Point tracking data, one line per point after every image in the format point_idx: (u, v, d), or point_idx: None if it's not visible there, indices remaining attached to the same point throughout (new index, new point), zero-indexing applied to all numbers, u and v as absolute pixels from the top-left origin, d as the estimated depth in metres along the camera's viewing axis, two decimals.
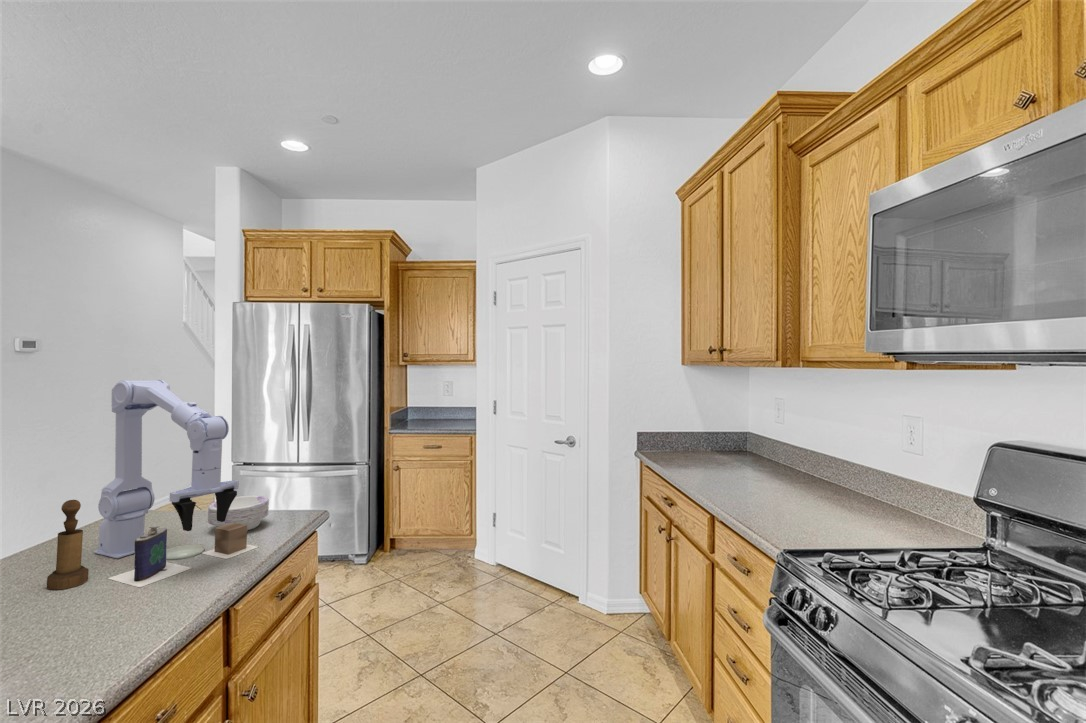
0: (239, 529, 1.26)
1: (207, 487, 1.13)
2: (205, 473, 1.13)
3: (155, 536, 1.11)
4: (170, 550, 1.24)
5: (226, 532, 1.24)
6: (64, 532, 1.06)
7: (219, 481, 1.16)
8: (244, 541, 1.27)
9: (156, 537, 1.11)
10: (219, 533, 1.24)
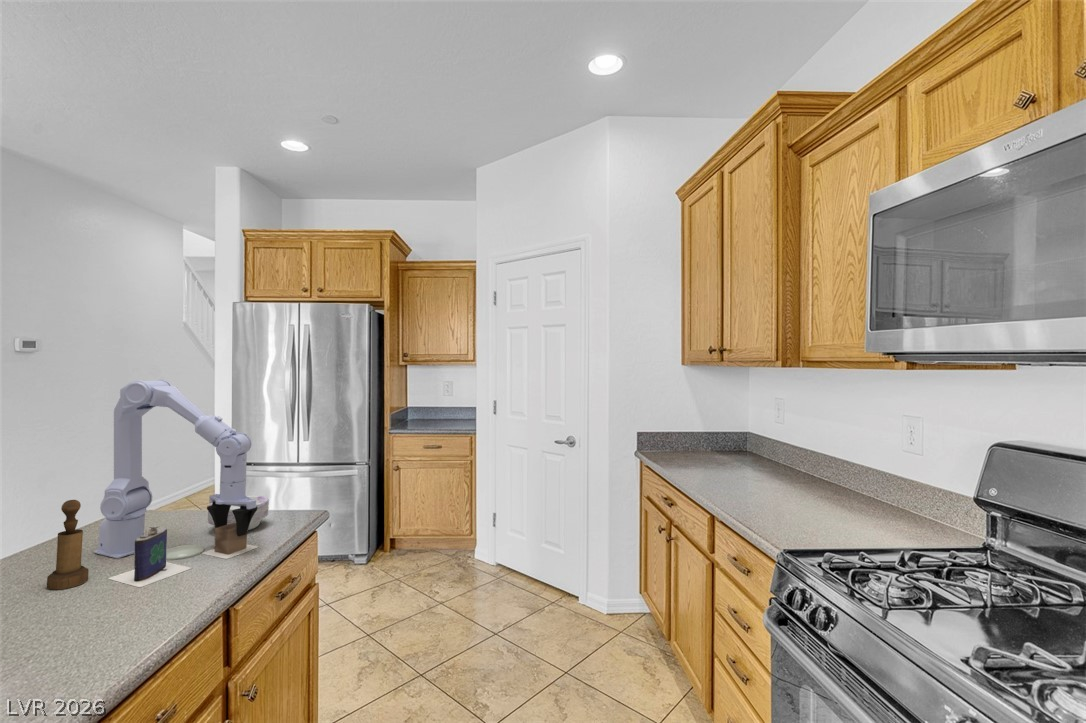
0: None
1: (219, 498, 1.25)
2: None
3: (155, 536, 1.11)
4: (170, 550, 1.24)
5: (226, 532, 1.24)
6: (64, 532, 1.06)
7: (229, 496, 1.24)
8: (244, 541, 1.27)
9: (156, 537, 1.11)
10: (219, 533, 1.24)
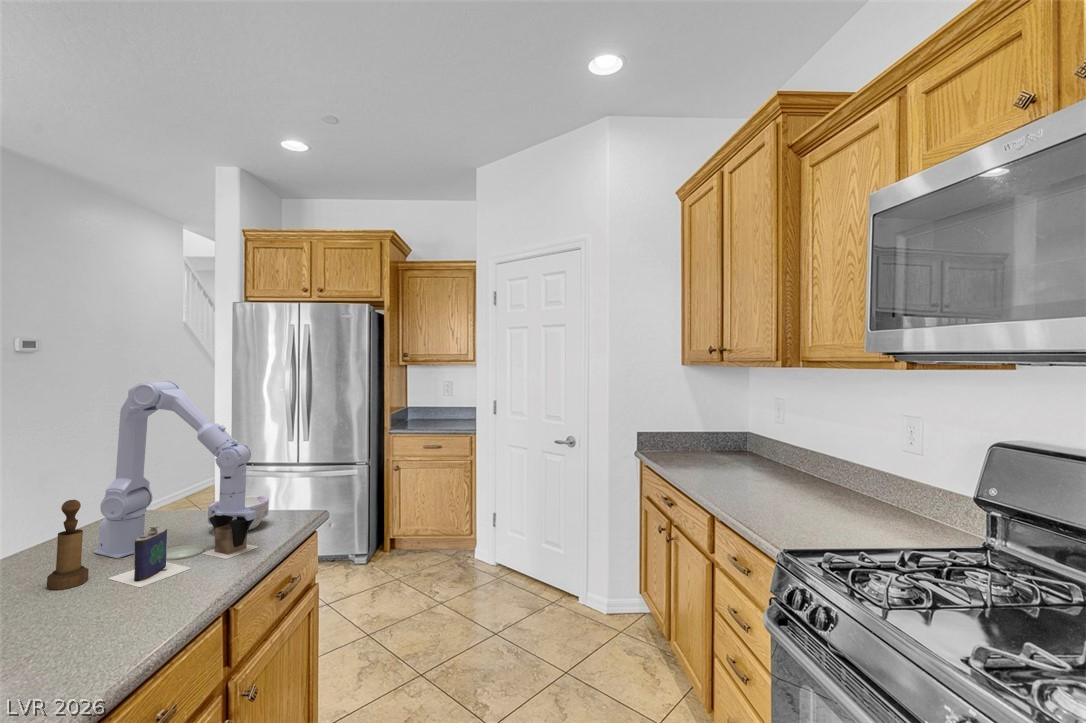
0: None
1: (219, 509, 1.25)
2: None
3: (155, 536, 1.11)
4: (170, 550, 1.24)
5: (226, 532, 1.24)
6: (64, 532, 1.06)
7: (228, 507, 1.24)
8: (244, 541, 1.27)
9: (156, 537, 1.11)
10: (219, 533, 1.24)
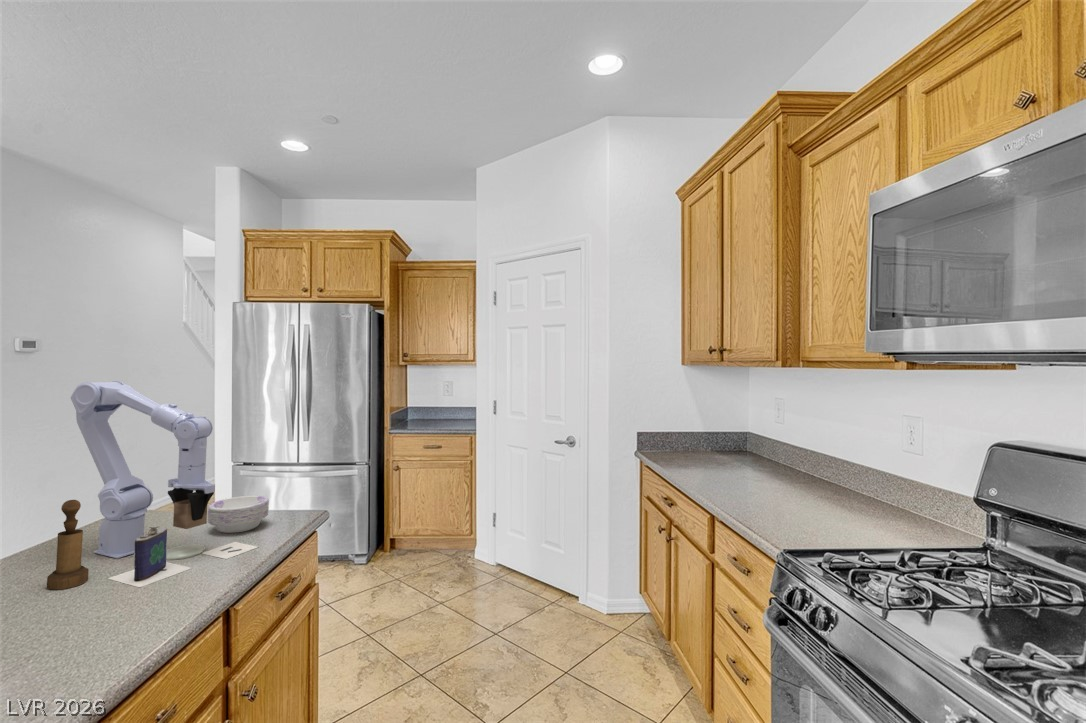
0: None
1: (177, 482, 1.23)
2: None
3: (155, 536, 1.11)
4: (170, 550, 1.24)
5: (184, 507, 1.22)
6: (64, 532, 1.06)
7: (187, 480, 1.22)
8: (204, 516, 1.25)
9: (156, 537, 1.11)
10: (178, 508, 1.22)
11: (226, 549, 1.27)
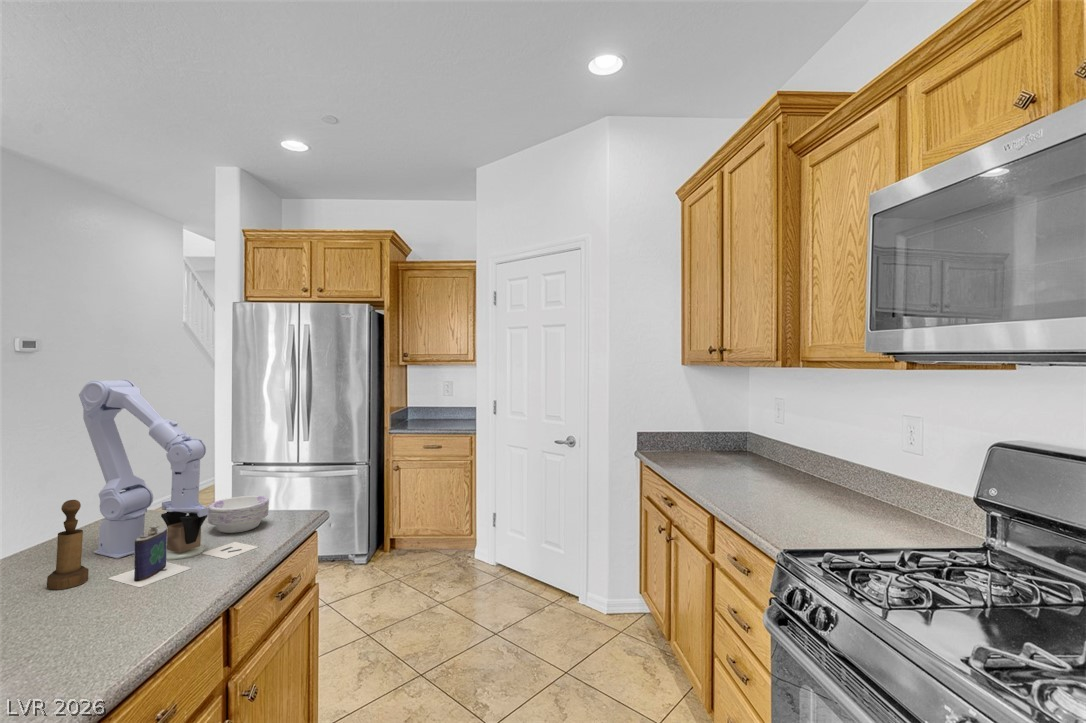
0: None
1: (171, 505, 1.22)
2: None
3: (155, 536, 1.11)
4: None
5: (177, 530, 1.21)
6: (64, 532, 1.06)
7: (180, 503, 1.21)
8: (198, 539, 1.25)
9: (156, 537, 1.11)
10: (171, 531, 1.22)
11: (226, 549, 1.27)
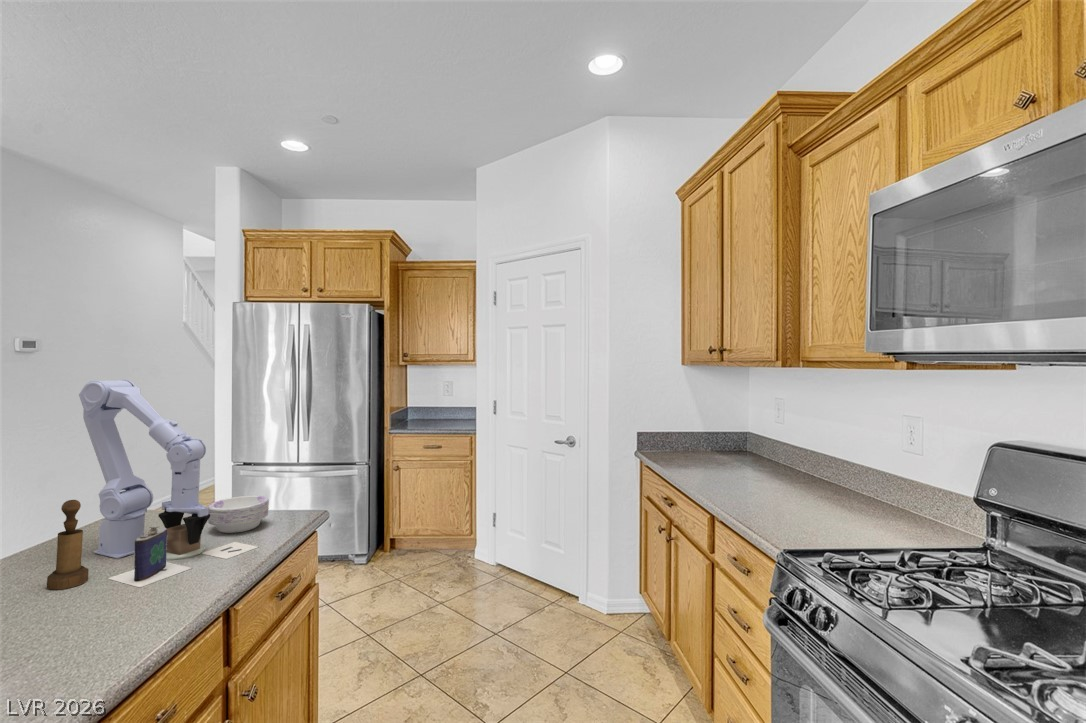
0: None
1: (171, 505, 1.22)
2: None
3: (155, 536, 1.11)
4: None
5: (177, 533, 1.21)
6: (64, 532, 1.06)
7: (180, 503, 1.21)
8: None
9: (156, 537, 1.11)
10: (171, 534, 1.22)
11: (226, 549, 1.27)
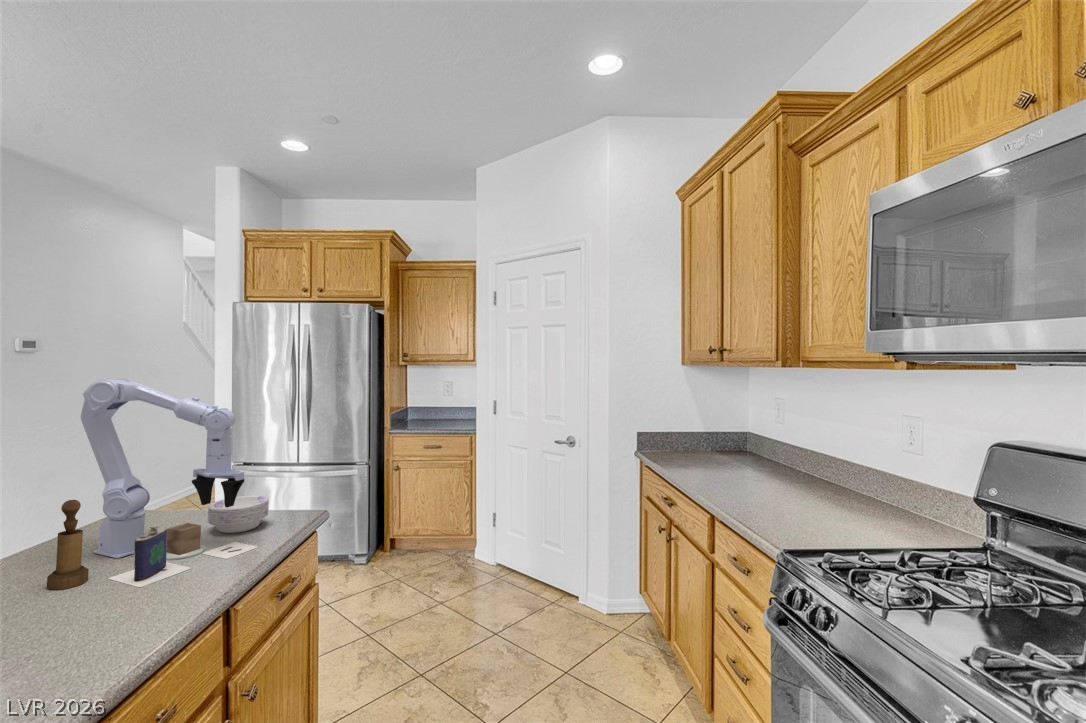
0: (192, 530, 1.24)
1: (206, 471, 1.28)
2: (206, 458, 1.28)
3: (155, 536, 1.11)
4: None
5: (177, 533, 1.21)
6: (64, 532, 1.06)
7: (216, 468, 1.28)
8: (198, 541, 1.25)
9: (156, 537, 1.11)
10: (171, 534, 1.22)
11: (226, 549, 1.27)
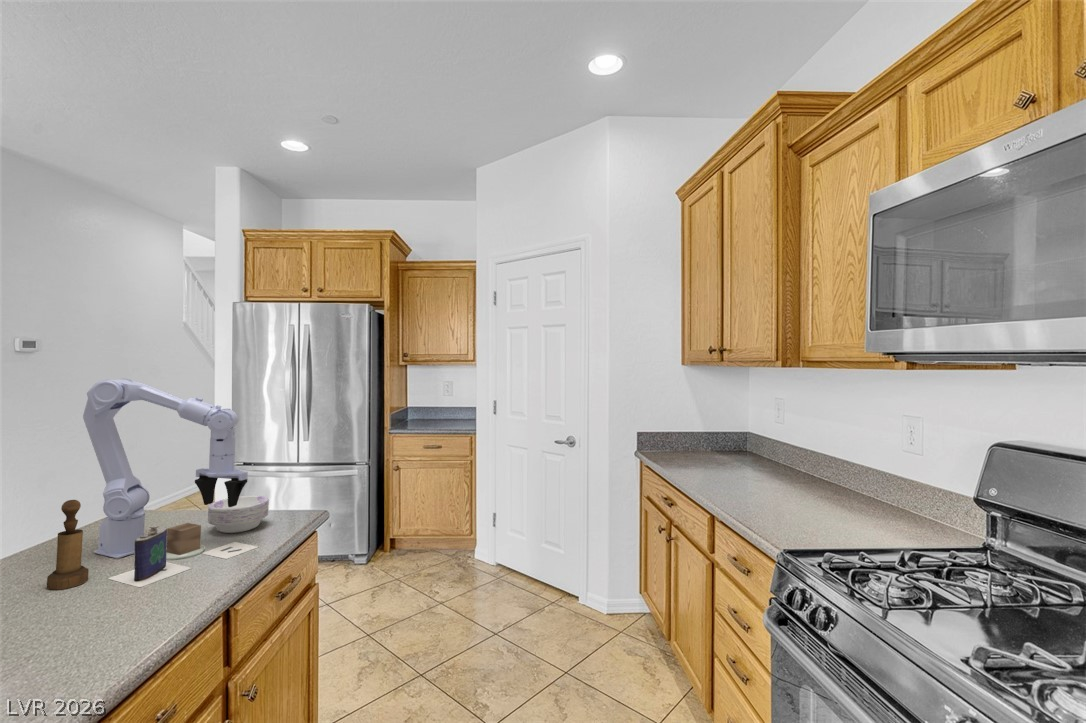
0: (192, 530, 1.24)
1: (209, 471, 1.29)
2: (209, 458, 1.29)
3: (155, 536, 1.11)
4: None
5: (177, 533, 1.21)
6: (64, 532, 1.06)
7: (220, 468, 1.29)
8: (198, 541, 1.25)
9: (156, 537, 1.11)
10: (171, 534, 1.22)
11: (226, 549, 1.27)
